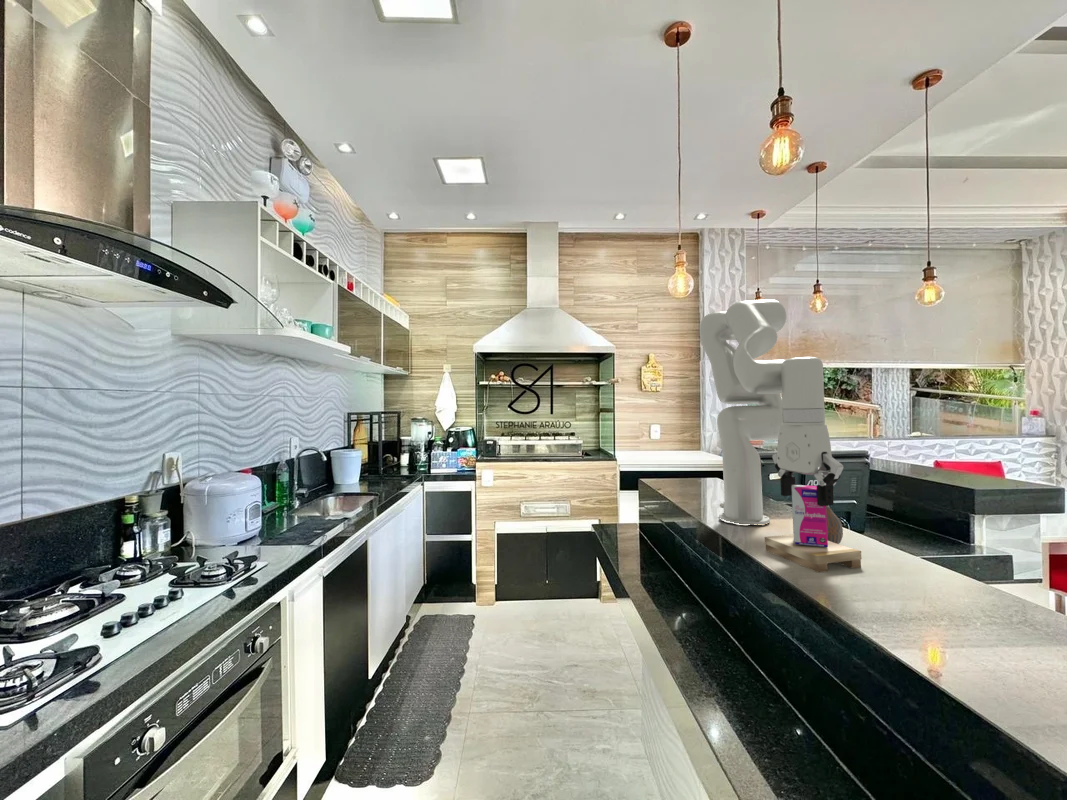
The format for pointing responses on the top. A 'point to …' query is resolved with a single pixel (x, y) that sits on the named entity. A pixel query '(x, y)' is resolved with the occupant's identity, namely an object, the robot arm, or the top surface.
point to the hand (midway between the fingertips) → (805, 500)
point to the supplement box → (808, 517)
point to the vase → (833, 527)
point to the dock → (813, 553)
